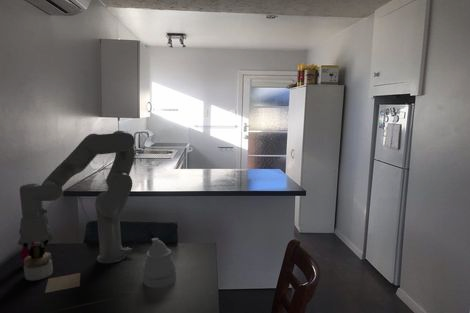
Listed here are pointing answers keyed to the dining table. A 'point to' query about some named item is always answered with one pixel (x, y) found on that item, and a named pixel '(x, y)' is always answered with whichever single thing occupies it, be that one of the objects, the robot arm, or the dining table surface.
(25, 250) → the pepper mill
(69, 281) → the mat
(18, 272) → the dining table surface
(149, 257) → the honey pot
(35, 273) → the bowl
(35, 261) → the lid
